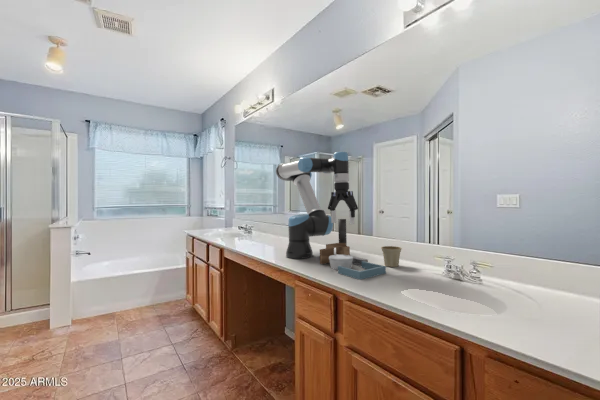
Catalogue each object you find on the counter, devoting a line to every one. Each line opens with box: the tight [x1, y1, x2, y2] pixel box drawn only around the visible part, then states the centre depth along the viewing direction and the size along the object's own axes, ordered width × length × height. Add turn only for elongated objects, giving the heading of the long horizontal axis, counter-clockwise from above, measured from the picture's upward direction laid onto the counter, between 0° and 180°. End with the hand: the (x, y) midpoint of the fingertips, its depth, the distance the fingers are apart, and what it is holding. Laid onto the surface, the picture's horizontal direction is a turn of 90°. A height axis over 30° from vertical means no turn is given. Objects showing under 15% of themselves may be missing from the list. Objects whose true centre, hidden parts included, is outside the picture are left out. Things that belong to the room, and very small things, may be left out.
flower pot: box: [380, 245, 403, 268], centre depth 137 cm, size 9×9×9 cm
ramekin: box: [329, 254, 353, 271], centre depth 136 cm, size 11×11×5 cm
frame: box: [337, 261, 387, 280], centre depth 125 cm, size 13×16×3 cm
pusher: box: [319, 218, 351, 265], centre depth 147 cm, size 6×16×21 cm, turn 124°
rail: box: [336, 254, 369, 267], centre depth 145 cm, size 19×3×3 cm, turn 34°
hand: (342, 223), depth 150 cm, fingers open, 13 cm apart
